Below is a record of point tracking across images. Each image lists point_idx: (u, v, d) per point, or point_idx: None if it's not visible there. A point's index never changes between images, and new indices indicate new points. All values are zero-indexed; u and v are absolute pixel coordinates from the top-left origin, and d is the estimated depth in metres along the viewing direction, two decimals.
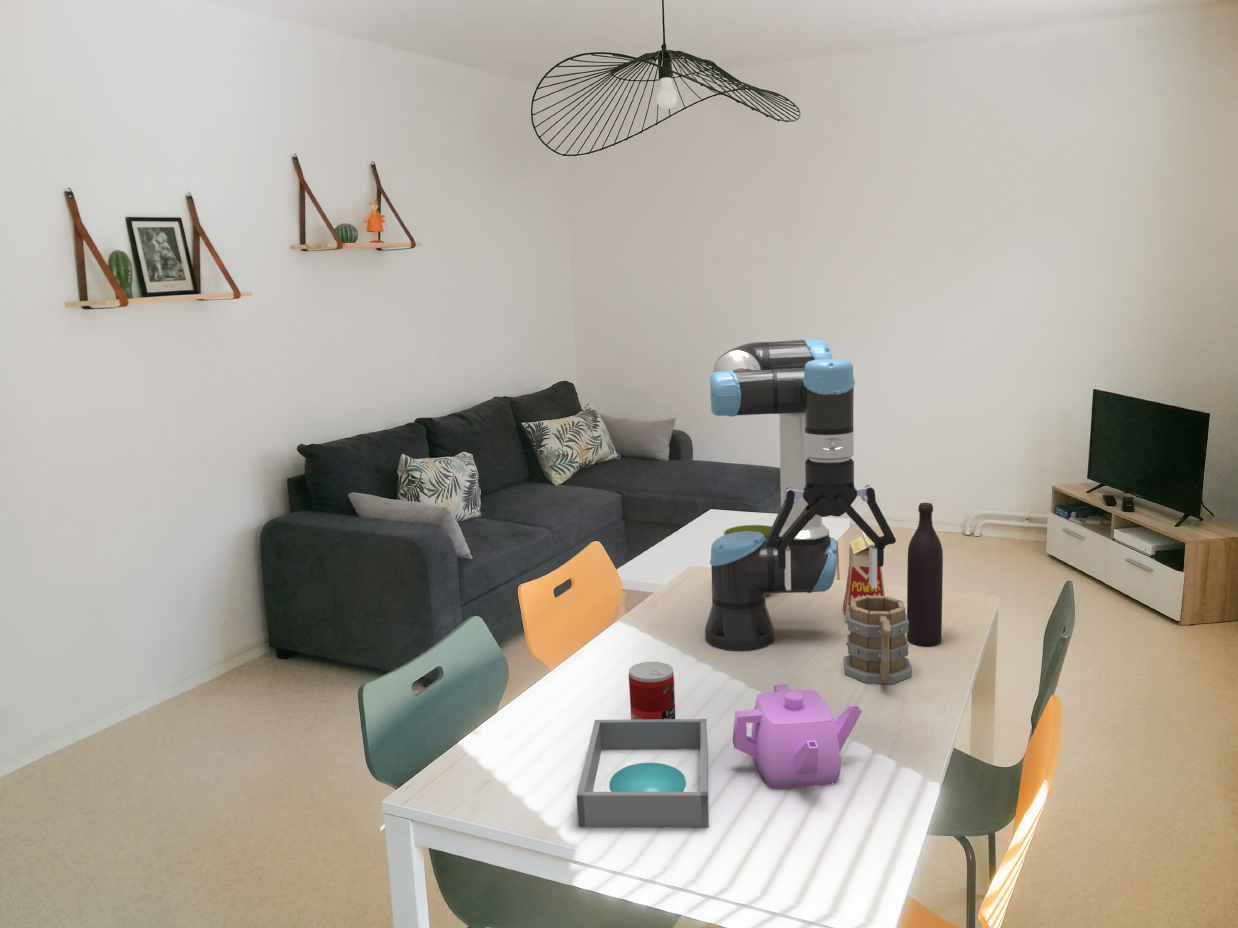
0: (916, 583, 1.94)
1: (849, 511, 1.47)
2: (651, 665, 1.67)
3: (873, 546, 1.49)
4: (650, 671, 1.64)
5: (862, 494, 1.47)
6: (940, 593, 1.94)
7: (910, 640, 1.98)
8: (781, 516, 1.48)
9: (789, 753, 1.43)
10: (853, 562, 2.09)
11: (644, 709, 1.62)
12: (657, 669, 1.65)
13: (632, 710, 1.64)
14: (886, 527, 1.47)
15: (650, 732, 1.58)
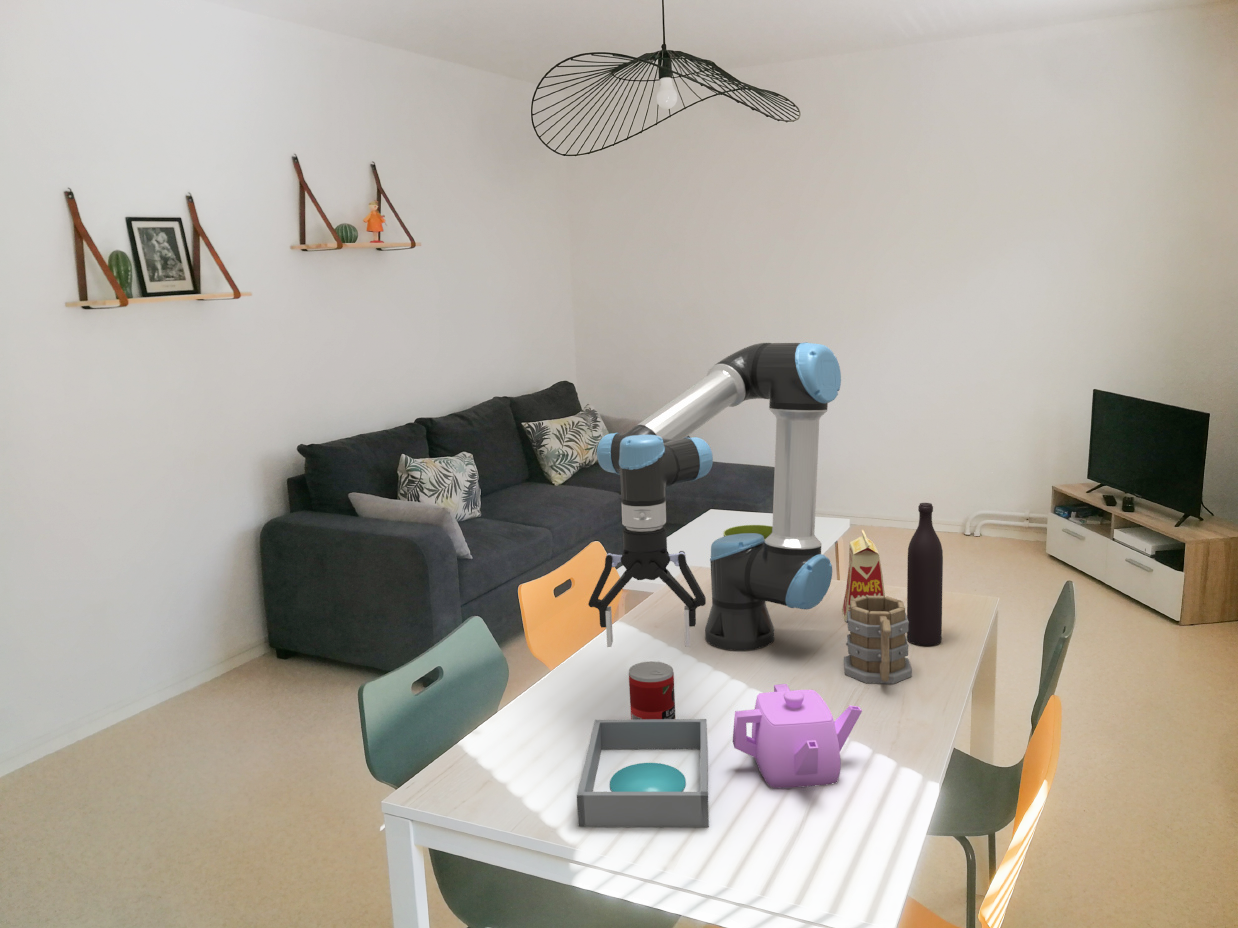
0: (916, 583, 1.94)
1: (662, 575, 1.59)
2: (651, 665, 1.67)
3: (687, 607, 1.61)
4: (650, 671, 1.64)
5: (674, 559, 1.59)
6: (940, 593, 1.94)
7: (910, 640, 1.98)
8: (600, 579, 1.60)
9: (789, 753, 1.43)
10: (853, 562, 2.09)
11: (644, 709, 1.62)
12: (657, 669, 1.65)
13: (632, 710, 1.64)
14: (696, 590, 1.59)
15: (650, 732, 1.58)
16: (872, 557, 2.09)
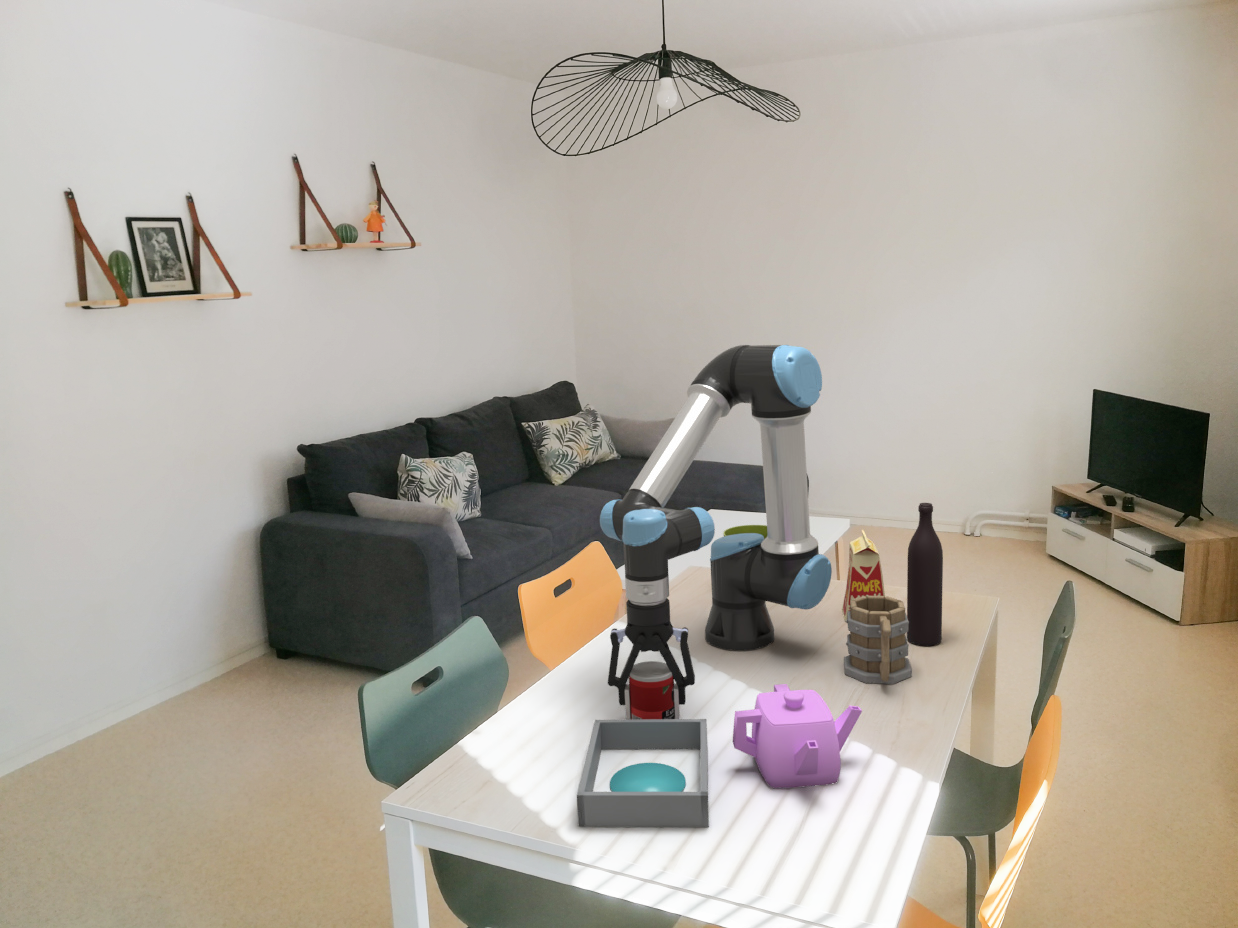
0: (916, 583, 1.94)
1: (662, 649, 1.61)
2: (651, 665, 1.67)
3: (676, 685, 1.64)
4: (650, 671, 1.64)
5: (677, 634, 1.62)
6: (940, 593, 1.94)
7: (910, 640, 1.98)
8: (612, 657, 1.63)
9: (789, 753, 1.43)
10: (853, 562, 2.09)
11: (644, 709, 1.62)
12: (657, 669, 1.65)
13: (632, 710, 1.64)
14: (689, 669, 1.62)
15: (650, 732, 1.58)
16: (872, 557, 2.09)
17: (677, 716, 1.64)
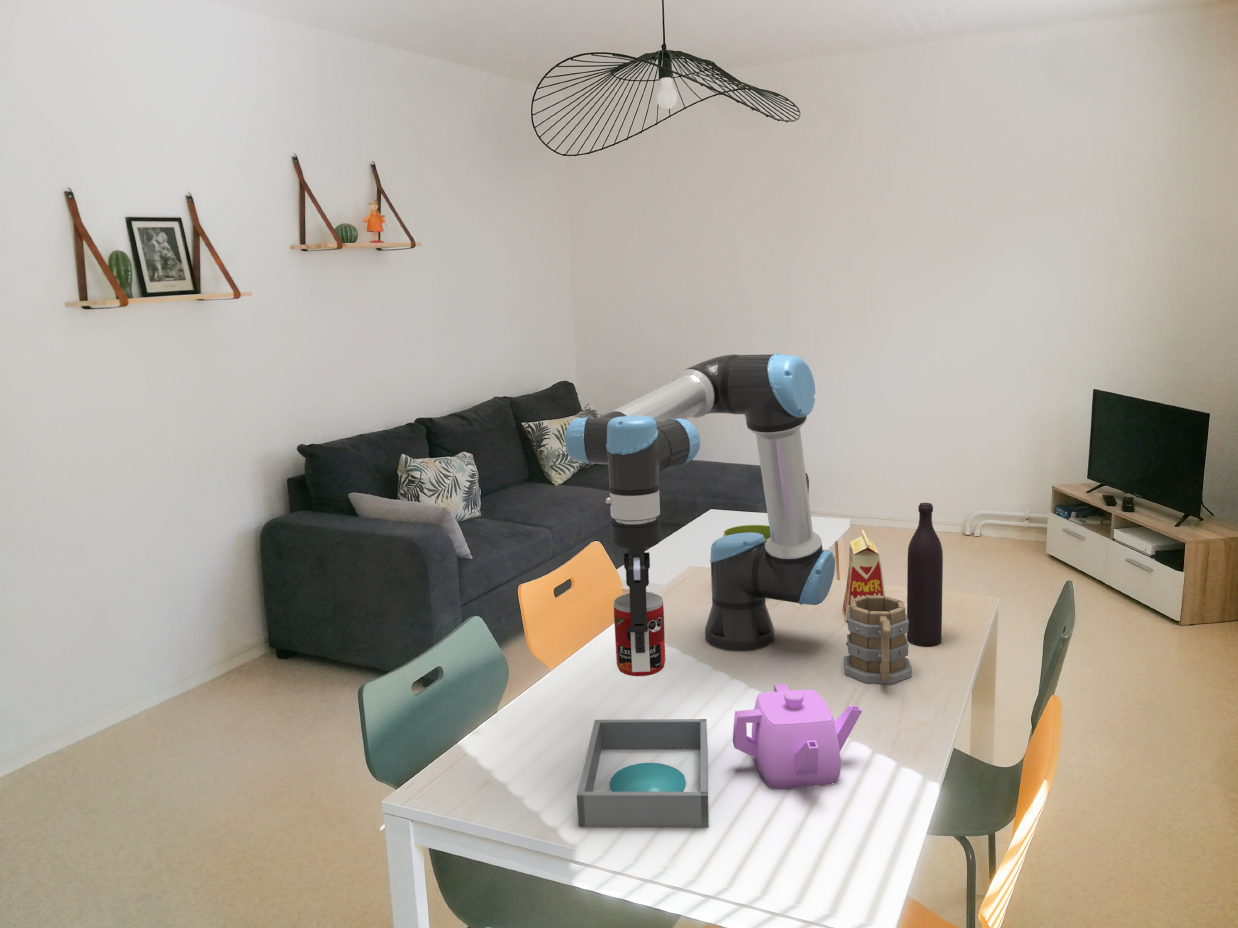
0: (916, 583, 1.94)
1: (626, 577, 1.41)
2: (655, 601, 1.44)
3: None
4: None
5: None
6: (940, 593, 1.94)
7: (910, 640, 1.98)
8: None
9: (789, 753, 1.43)
10: (853, 562, 2.09)
11: None
12: None
13: None
14: (630, 612, 1.37)
15: (650, 732, 1.58)
16: (872, 557, 2.09)
17: None
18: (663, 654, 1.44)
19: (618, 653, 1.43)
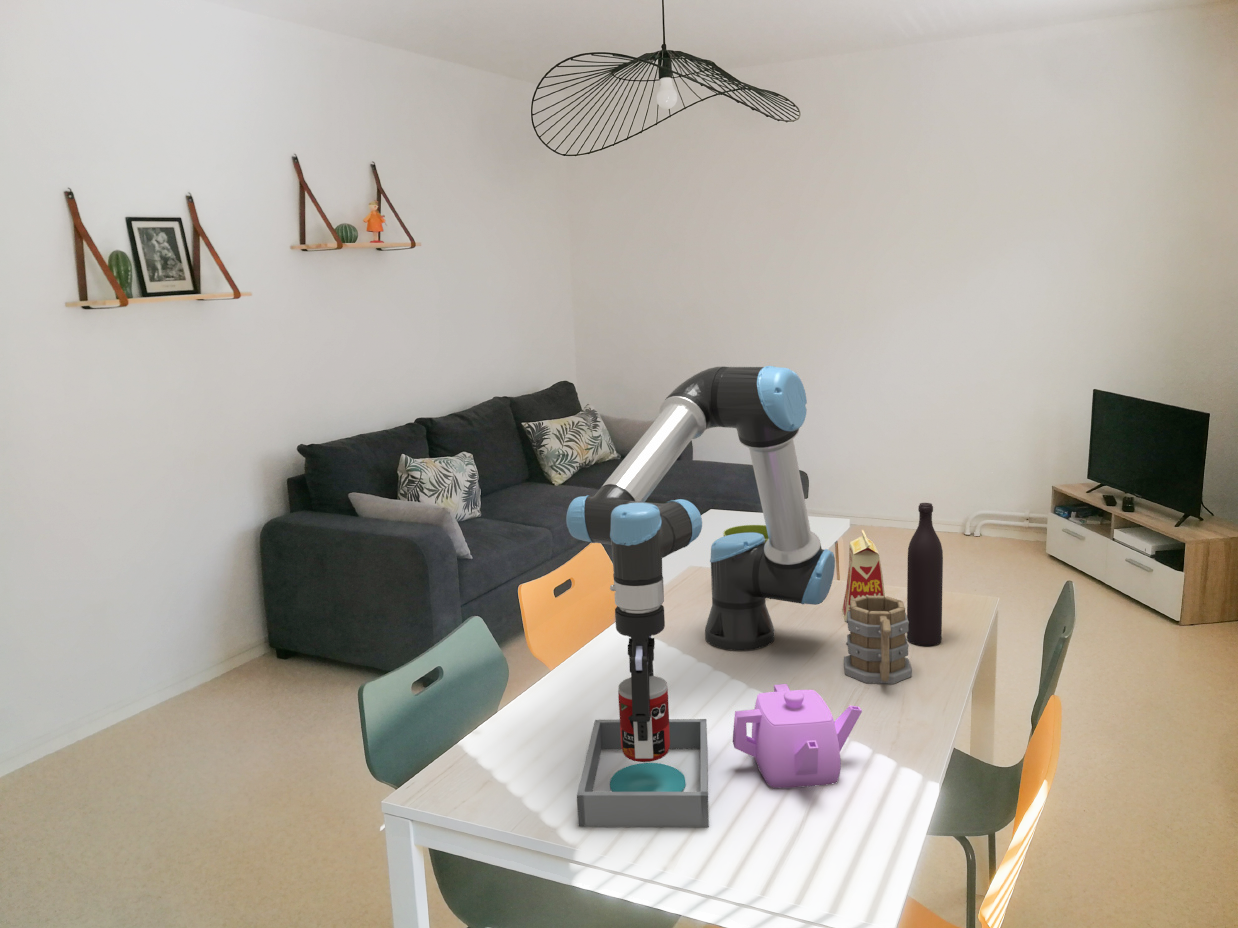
0: (916, 583, 1.94)
1: None
2: (659, 686, 1.44)
3: None
4: None
5: None
6: (940, 593, 1.94)
7: (910, 640, 1.98)
8: None
9: (789, 753, 1.43)
10: (853, 562, 2.09)
11: None
12: None
13: None
14: (632, 702, 1.38)
15: None
16: (872, 557, 2.09)
17: None
18: (667, 739, 1.44)
19: (622, 738, 1.44)
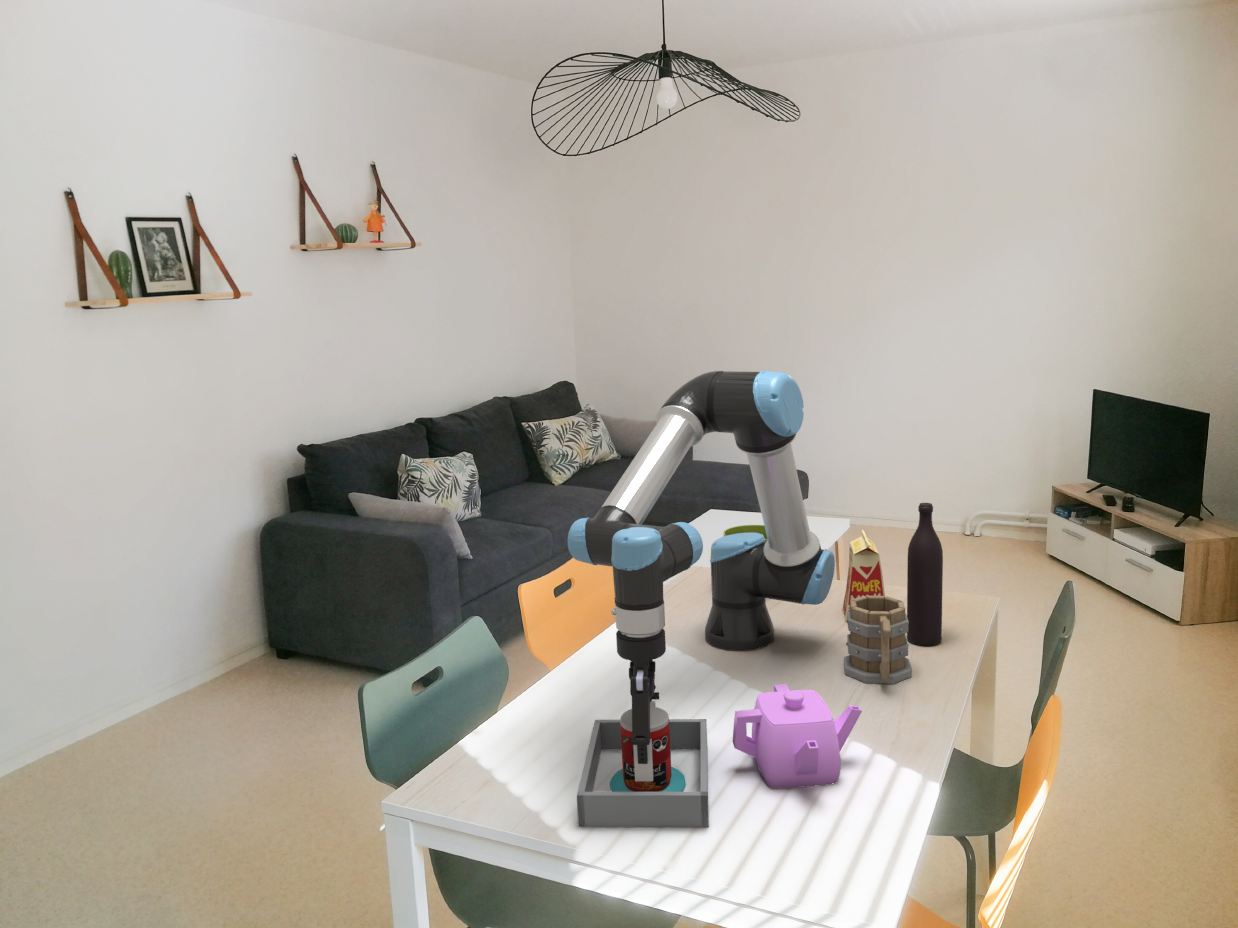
0: (916, 583, 1.94)
1: (630, 687, 1.42)
2: (661, 718, 1.45)
3: None
4: None
5: None
6: (940, 593, 1.94)
7: (910, 640, 1.98)
8: None
9: (789, 753, 1.43)
10: (853, 562, 2.09)
11: None
12: None
13: None
14: (632, 724, 1.37)
15: None
16: (872, 557, 2.09)
17: None
18: (669, 771, 1.45)
19: (624, 769, 1.45)
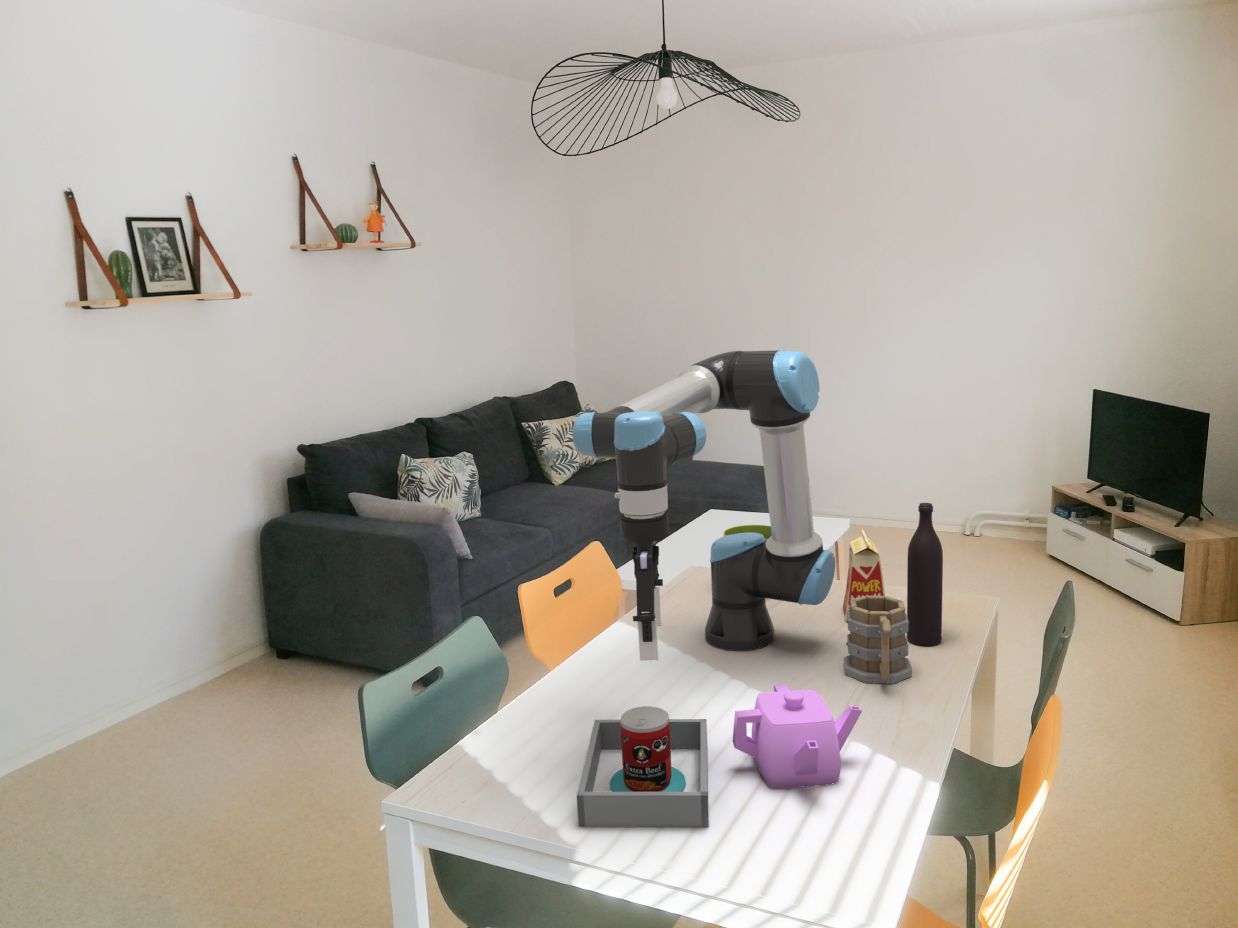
0: (916, 583, 1.94)
1: None
2: (661, 718, 1.45)
3: None
4: (644, 718, 1.45)
5: None
6: (940, 593, 1.94)
7: (910, 640, 1.98)
8: None
9: (790, 753, 1.43)
10: (853, 562, 2.09)
11: None
12: (650, 722, 1.44)
13: None
14: None
15: None
16: (872, 557, 2.09)
17: None
18: (669, 771, 1.45)
19: (624, 769, 1.45)
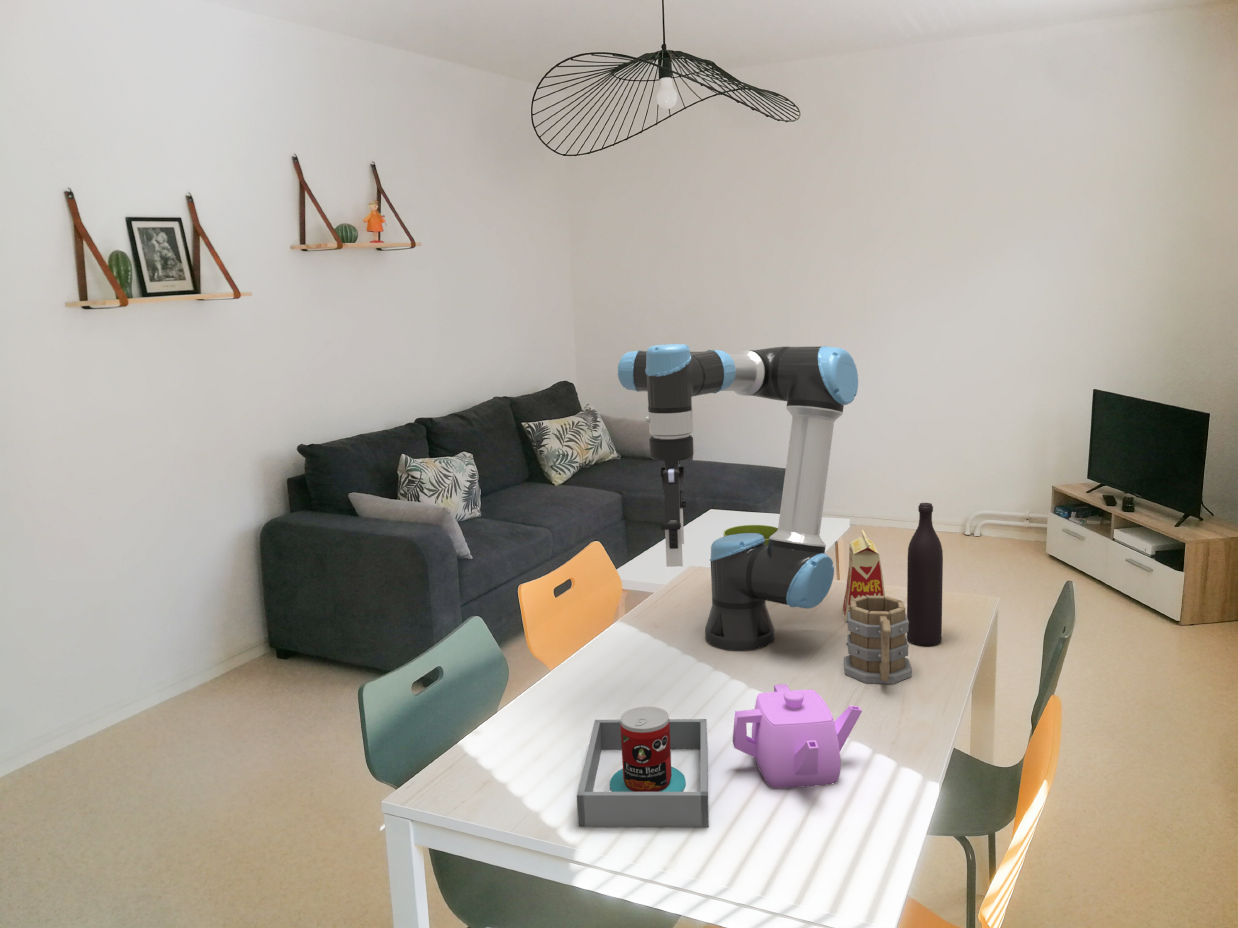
0: (916, 583, 1.94)
1: (662, 486, 1.59)
2: (661, 718, 1.45)
3: None
4: (644, 718, 1.45)
5: None
6: (940, 593, 1.94)
7: (910, 640, 1.98)
8: None
9: (789, 753, 1.43)
10: (853, 562, 2.09)
11: None
12: (650, 722, 1.44)
13: None
14: None
15: None
16: (872, 557, 2.09)
17: (666, 557, 1.57)
18: (669, 771, 1.45)
19: (624, 769, 1.45)
